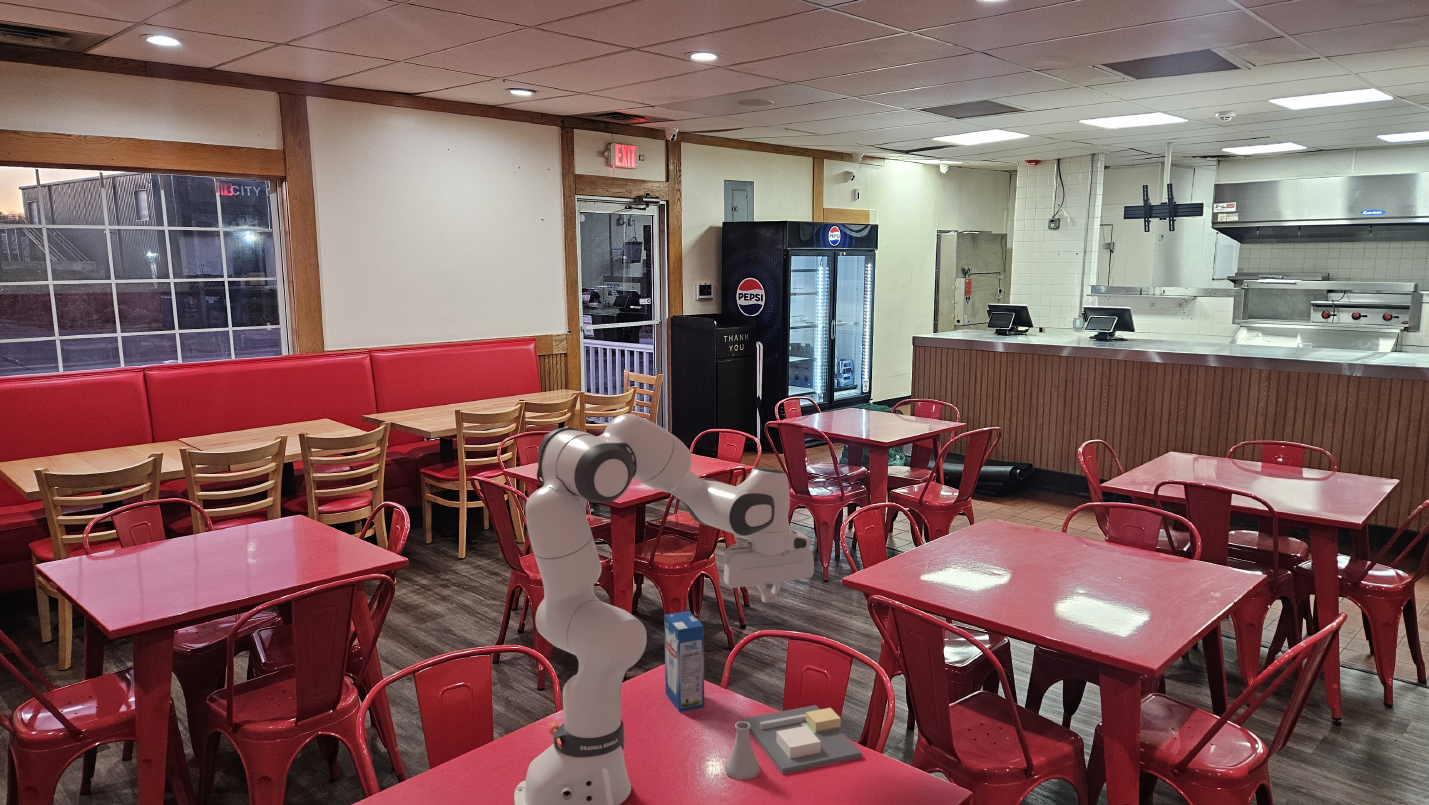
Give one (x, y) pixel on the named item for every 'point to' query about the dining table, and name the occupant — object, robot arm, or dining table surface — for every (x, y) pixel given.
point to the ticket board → (804, 762)
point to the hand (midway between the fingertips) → (769, 601)
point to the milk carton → (684, 660)
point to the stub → (823, 719)
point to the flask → (742, 755)
